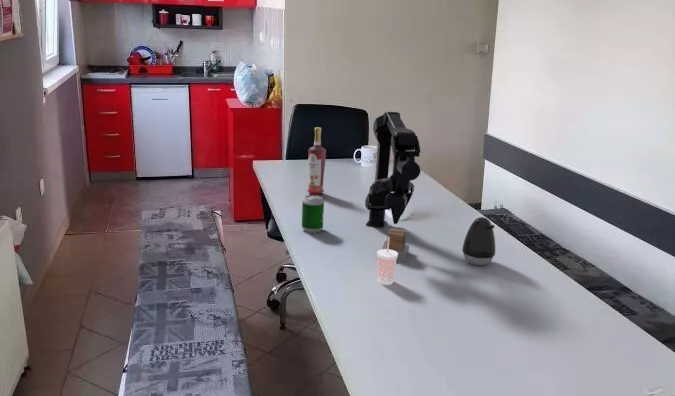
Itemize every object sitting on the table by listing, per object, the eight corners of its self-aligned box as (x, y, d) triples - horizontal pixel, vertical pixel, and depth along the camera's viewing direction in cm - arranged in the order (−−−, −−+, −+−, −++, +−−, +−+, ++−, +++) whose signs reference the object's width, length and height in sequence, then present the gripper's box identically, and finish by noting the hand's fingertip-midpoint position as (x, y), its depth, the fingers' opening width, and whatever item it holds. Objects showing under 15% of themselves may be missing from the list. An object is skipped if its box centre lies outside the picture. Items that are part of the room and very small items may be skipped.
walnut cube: (389, 242, 206) (391, 228, 204) (405, 244, 204) (406, 230, 203) (386, 247, 201) (387, 233, 200) (401, 250, 200) (403, 235, 198)
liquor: (327, 193, 266) (330, 127, 257) (317, 197, 260) (320, 130, 251) (313, 190, 269) (315, 125, 261) (303, 193, 263) (305, 127, 255)
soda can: (320, 234, 219) (321, 201, 215) (299, 232, 220) (300, 199, 216) (324, 227, 226) (326, 195, 222) (304, 225, 227) (305, 193, 223)
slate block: (384, 250, 208) (385, 240, 207) (408, 253, 207) (409, 243, 206) (381, 259, 201) (381, 249, 200) (406, 262, 200) (407, 252, 198)
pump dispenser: (475, 271, 195) (481, 224, 190) (454, 258, 203) (459, 214, 199) (500, 266, 199) (506, 221, 195) (479, 254, 208) (484, 210, 203)
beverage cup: (389, 287, 180) (393, 242, 176) (370, 282, 183) (374, 237, 179) (399, 280, 185) (403, 236, 181) (381, 275, 188) (384, 231, 184)
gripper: (382, 162, 206) (379, 207, 211) (369, 175, 189) (366, 225, 194) (416, 166, 203) (412, 211, 208) (406, 180, 186) (402, 229, 191)
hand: (398, 219), depth 200 cm, fingers open, 9 cm apart
